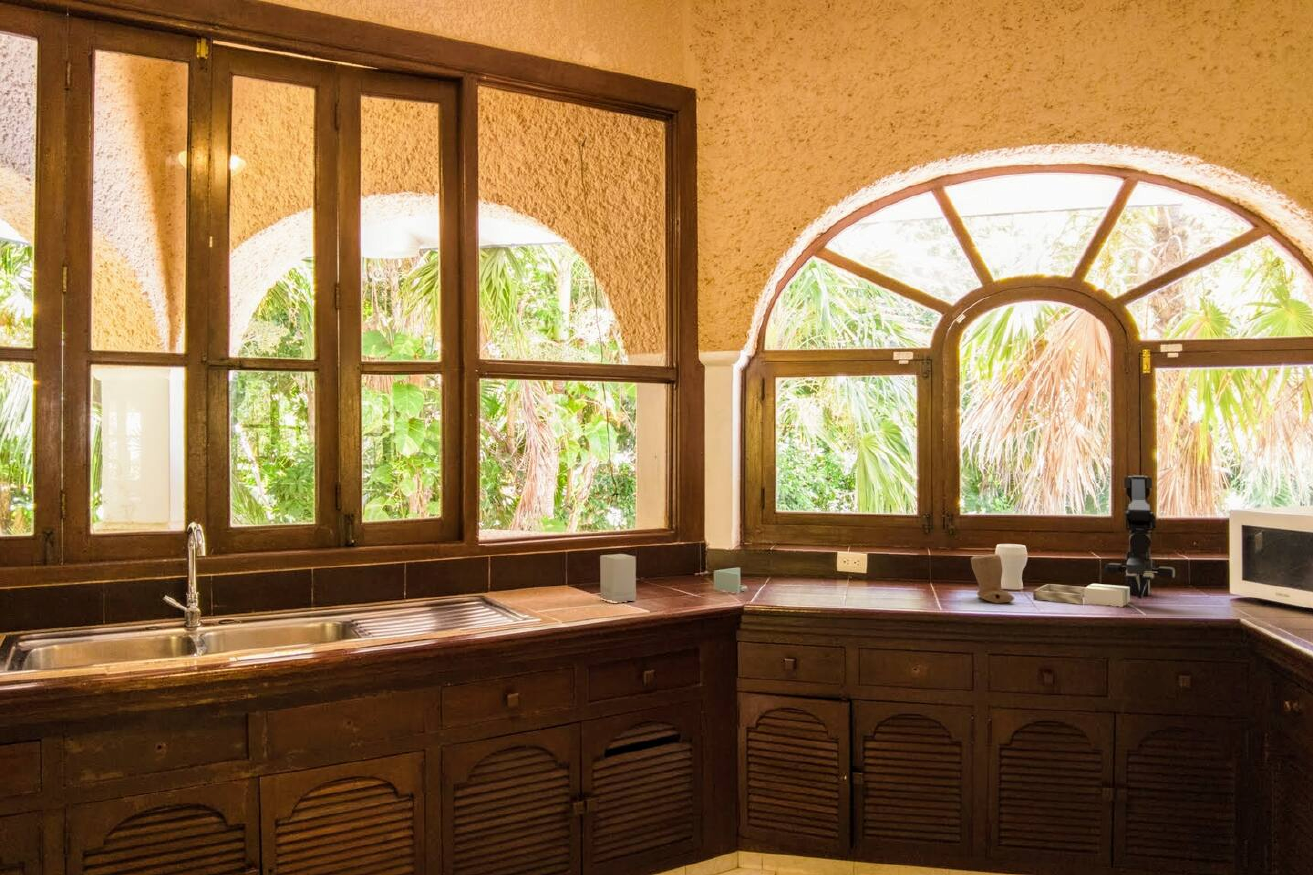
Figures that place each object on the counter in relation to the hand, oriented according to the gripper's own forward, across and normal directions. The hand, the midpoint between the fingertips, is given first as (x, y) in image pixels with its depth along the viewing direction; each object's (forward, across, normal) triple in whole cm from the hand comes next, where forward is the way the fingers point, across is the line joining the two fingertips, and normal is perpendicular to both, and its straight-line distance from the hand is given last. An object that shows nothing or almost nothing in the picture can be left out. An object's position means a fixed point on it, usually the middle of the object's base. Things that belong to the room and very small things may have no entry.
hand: (1140, 597), depth 280 cm
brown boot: (+3, -40, -17) cm, 44 cm away
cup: (+3, -42, +11) cm, 44 cm away
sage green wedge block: (+3, -118, -49) cm, 127 cm away
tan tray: (+2, -21, 0) cm, 22 cm away
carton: (+3, -9, 0) cm, 10 cm away
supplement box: (+3, -138, -90) cm, 165 cm away
